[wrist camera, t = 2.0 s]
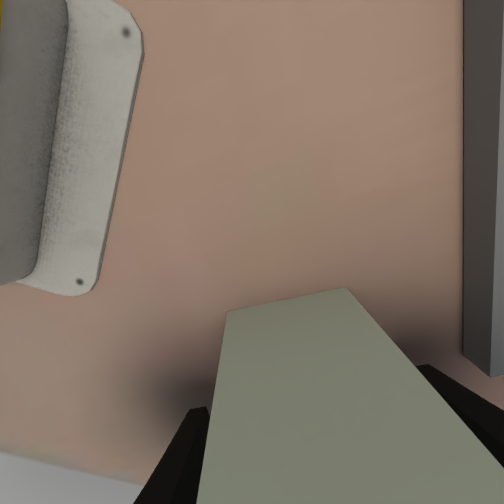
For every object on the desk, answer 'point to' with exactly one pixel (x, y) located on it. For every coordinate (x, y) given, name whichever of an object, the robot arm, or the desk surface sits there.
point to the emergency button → (62, 135)
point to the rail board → (484, 185)
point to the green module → (333, 416)
